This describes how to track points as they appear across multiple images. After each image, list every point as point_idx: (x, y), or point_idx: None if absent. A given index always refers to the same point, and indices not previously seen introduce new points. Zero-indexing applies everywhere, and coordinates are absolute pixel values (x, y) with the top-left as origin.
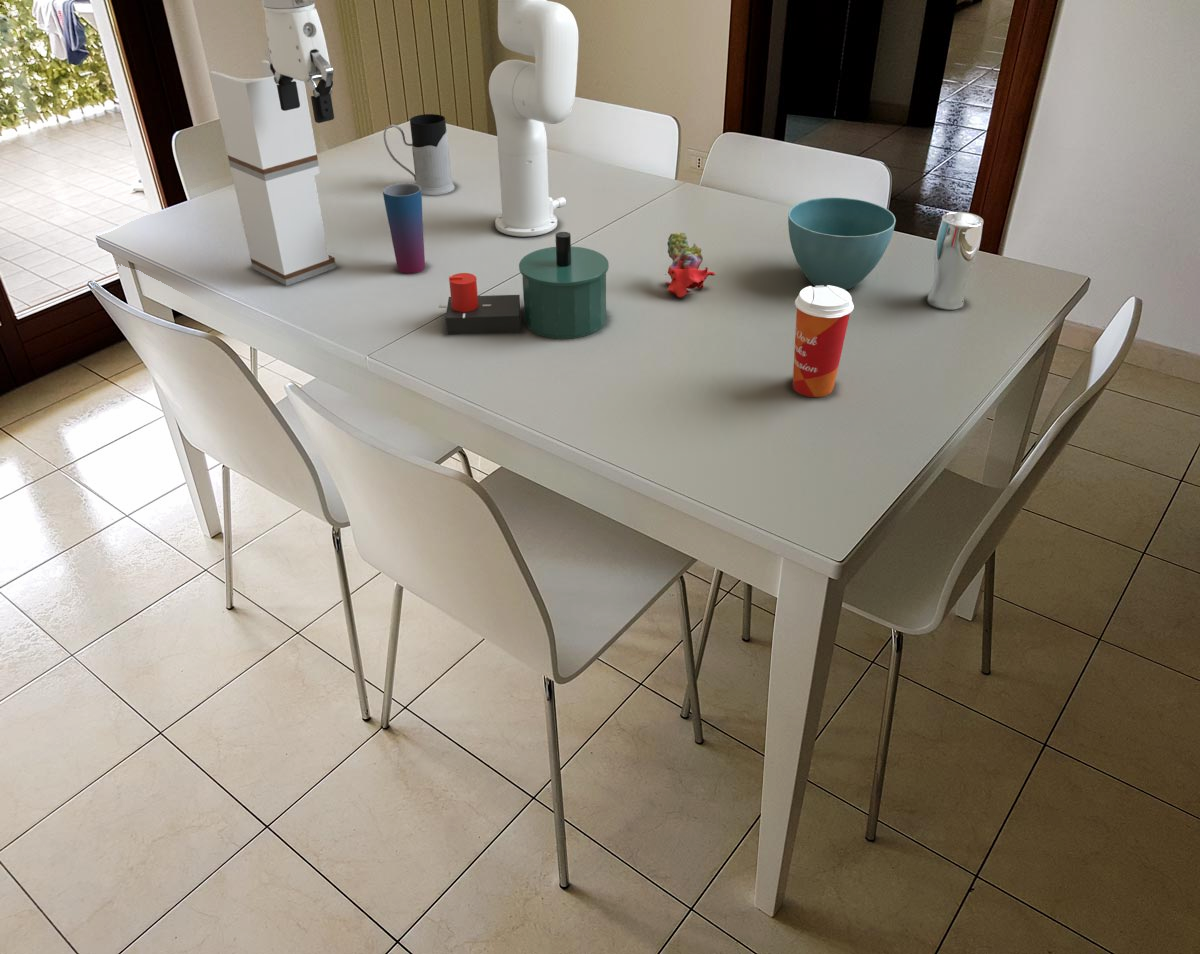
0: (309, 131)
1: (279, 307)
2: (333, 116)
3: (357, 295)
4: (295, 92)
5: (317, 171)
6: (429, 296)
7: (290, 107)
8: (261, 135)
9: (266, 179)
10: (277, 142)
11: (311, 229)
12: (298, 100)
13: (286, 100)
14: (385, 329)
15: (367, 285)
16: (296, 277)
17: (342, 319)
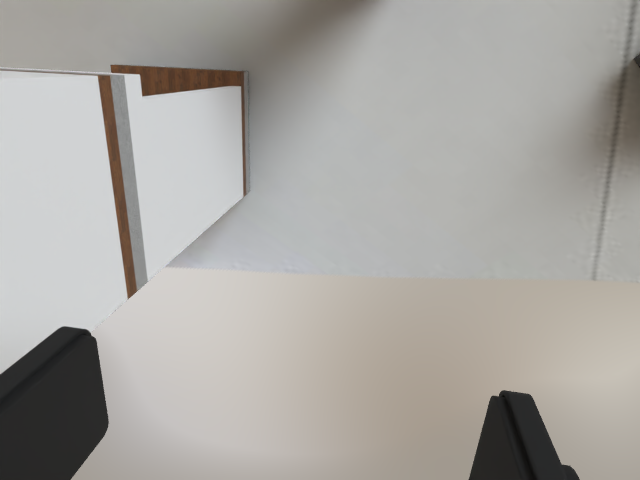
0: (24, 98)
1: (316, 252)
2: (533, 406)
3: (391, 132)
4: (18, 418)
5: (134, 84)
6: (531, 29)
7: (97, 399)
8: None
9: (145, 279)
10: (66, 266)
11: (213, 127)
12: (65, 363)
13: (68, 455)
14: (552, 197)
15: (370, 85)
16: (246, 169)
17: (448, 218)
